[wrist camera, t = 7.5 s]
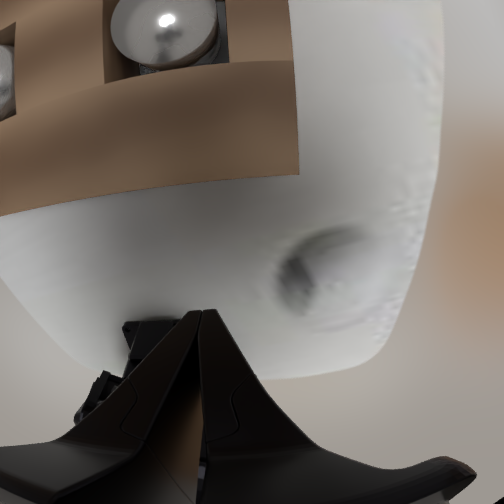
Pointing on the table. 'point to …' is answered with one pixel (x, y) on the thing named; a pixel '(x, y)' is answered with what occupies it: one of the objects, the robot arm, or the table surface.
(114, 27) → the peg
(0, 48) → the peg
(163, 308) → the table surface
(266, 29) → the walnut block
